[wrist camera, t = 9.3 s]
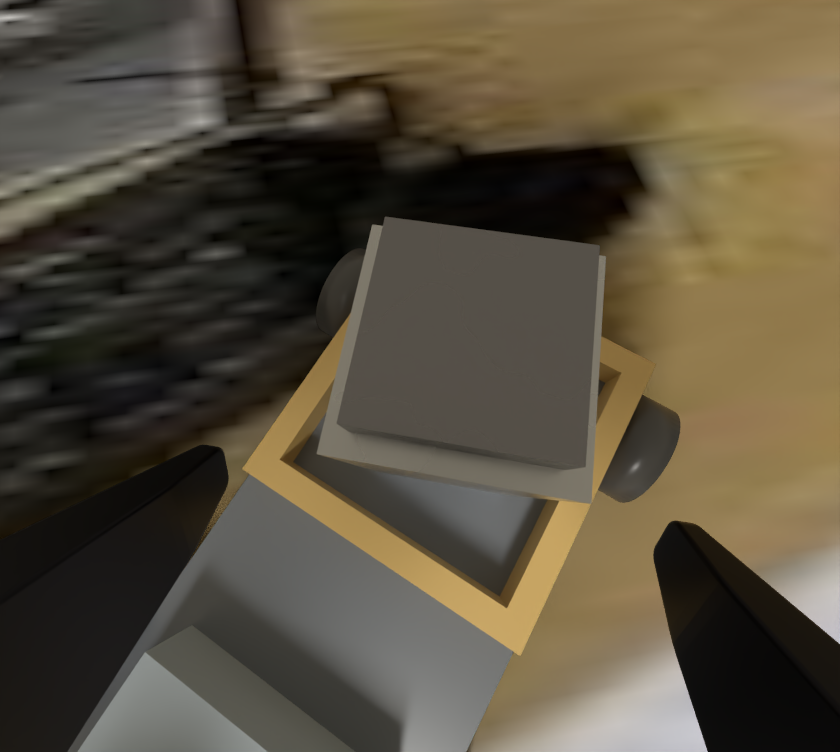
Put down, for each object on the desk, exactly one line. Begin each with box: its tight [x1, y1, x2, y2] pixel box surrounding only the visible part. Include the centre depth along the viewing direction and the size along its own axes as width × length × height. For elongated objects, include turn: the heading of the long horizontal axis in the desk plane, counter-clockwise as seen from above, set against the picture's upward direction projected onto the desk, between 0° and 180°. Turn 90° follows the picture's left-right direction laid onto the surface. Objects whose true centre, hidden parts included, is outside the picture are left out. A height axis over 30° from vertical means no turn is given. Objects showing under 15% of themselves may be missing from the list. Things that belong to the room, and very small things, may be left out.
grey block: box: [317, 217, 606, 504], centre depth 12 cm, size 5×5×10 cm
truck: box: [68, 248, 680, 752], centre depth 15 cm, size 23×15×6 cm, turn 149°
